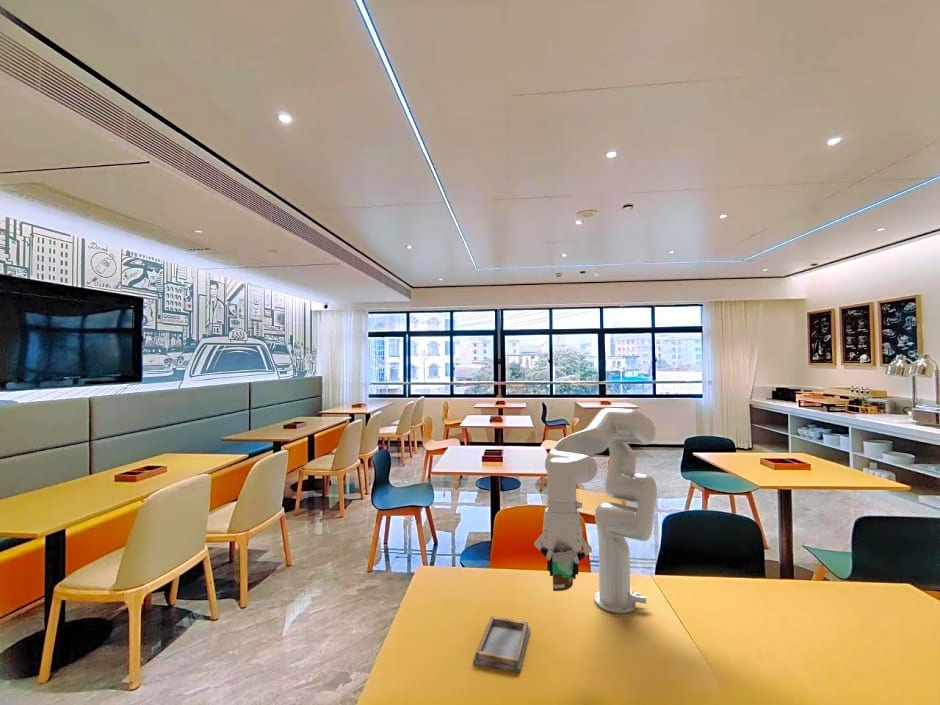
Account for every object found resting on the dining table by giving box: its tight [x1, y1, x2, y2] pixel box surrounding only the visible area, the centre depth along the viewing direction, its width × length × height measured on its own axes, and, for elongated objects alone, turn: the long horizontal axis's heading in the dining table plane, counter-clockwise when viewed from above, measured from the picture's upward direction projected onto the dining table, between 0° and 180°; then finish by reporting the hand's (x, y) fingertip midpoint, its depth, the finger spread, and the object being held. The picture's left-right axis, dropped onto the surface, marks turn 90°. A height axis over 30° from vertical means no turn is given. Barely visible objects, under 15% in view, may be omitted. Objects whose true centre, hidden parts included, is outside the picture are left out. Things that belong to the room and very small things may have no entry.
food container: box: [552, 549, 576, 592], centre depth 113 cm, size 12×6×10 cm, turn 168°
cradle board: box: [472, 615, 531, 674], centre depth 116 cm, size 12×18×2 cm, turn 164°
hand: (562, 574), depth 113 cm, fingers closed on food container, 5 cm apart
